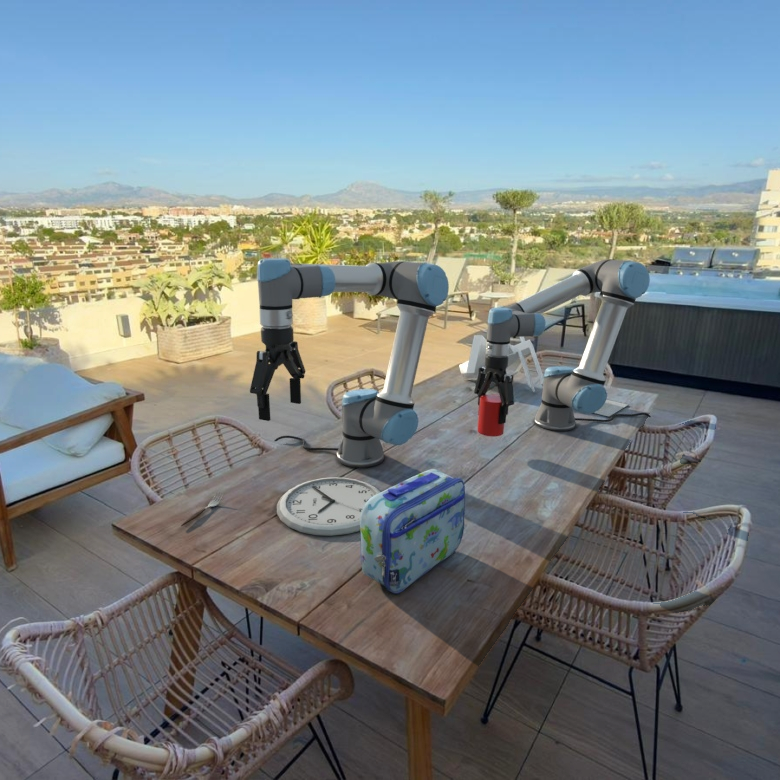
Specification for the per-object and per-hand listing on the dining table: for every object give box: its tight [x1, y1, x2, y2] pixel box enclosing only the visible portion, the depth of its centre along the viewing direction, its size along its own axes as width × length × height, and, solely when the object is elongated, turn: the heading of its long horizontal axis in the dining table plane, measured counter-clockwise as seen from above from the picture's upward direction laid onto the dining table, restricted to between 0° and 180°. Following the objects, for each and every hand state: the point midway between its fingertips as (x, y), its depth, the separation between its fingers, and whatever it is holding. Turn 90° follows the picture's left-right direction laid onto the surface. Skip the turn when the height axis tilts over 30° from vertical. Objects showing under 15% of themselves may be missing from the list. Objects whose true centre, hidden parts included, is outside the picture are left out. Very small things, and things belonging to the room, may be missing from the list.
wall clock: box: [276, 476, 382, 537], centre depth 142 cm, size 30×2×30 cm
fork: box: [180, 491, 225, 527], centre depth 138 cm, size 3×16×2 cm, turn 160°
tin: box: [477, 393, 506, 437], centre depth 179 cm, size 9×9×12 cm
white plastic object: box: [458, 334, 544, 393], centre depth 255 cm, size 37×45×31 cm
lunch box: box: [359, 468, 466, 594], centre depth 114 cm, size 26×11×21 cm, turn 134°
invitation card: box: [593, 399, 629, 418], centre depth 226 cm, size 21×1×15 cm
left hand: (280, 411), depth 130 cm, fingers open, 13 cm apart
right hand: (491, 418), depth 180 cm, fingers closed on tin, 9 cm apart
